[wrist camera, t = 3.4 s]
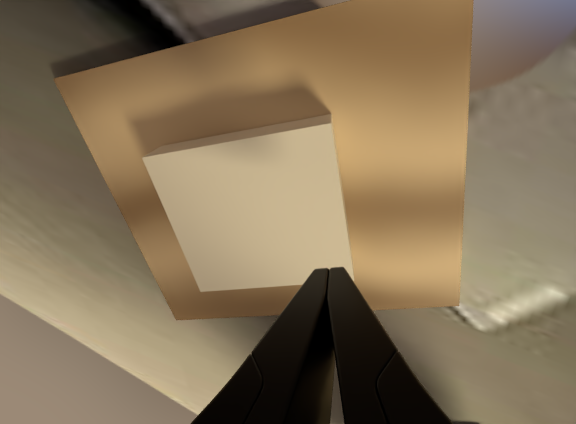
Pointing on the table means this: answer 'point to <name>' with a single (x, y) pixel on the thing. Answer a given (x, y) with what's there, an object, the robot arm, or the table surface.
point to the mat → (295, 106)
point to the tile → (256, 204)
